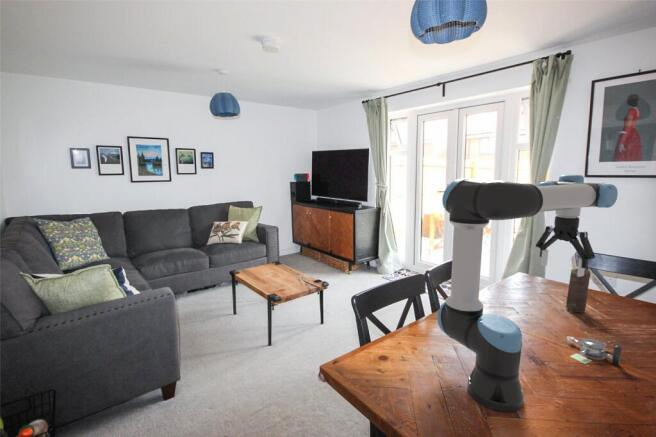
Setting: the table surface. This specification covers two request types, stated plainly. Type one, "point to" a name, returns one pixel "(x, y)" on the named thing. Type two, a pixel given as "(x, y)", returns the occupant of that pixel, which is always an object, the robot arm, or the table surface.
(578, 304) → the candle
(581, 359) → the stand plate
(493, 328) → the robot arm
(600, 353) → the cam capstan
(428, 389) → the table surface
